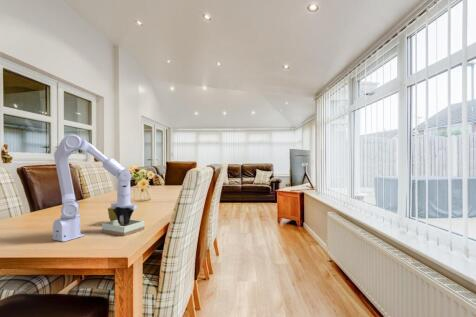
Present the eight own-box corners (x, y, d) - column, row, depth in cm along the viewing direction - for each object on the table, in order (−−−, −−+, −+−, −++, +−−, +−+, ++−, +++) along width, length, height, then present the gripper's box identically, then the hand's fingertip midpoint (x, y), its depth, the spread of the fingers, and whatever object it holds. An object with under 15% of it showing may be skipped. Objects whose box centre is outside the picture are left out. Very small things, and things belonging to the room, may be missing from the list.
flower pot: (124, 225, 132) (124, 208, 132) (107, 225, 132) (107, 207, 132) (131, 221, 141) (131, 204, 141) (115, 221, 141) (115, 204, 141)
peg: (123, 228, 121) (123, 215, 121) (118, 228, 122) (118, 215, 122) (128, 226, 124) (128, 214, 124) (123, 226, 125) (123, 213, 125)
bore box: (124, 236, 115) (124, 227, 115) (101, 232, 121) (102, 223, 120) (144, 229, 126) (144, 221, 126) (122, 226, 131) (123, 218, 131)
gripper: (141, 194, 124) (141, 223, 124) (119, 192, 130) (119, 220, 130) (130, 196, 117) (130, 227, 117) (107, 194, 123) (107, 223, 123)
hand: (123, 223), depth 123 cm, fingers closed on peg, 3 cm apart
